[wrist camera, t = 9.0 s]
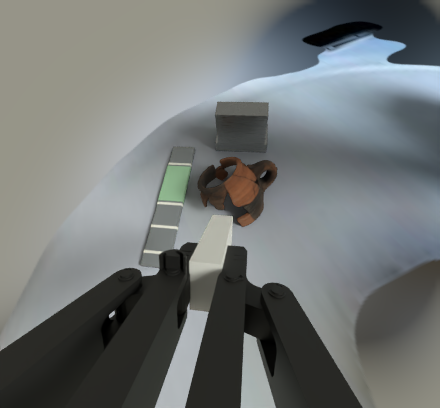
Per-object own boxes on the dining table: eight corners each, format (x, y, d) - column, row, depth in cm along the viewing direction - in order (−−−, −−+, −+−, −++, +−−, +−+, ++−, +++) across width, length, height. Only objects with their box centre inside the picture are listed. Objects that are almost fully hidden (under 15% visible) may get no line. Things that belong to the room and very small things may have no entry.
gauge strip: (169, 268, 31) (167, 267, 31) (141, 266, 32) (139, 264, 31) (195, 149, 42) (194, 147, 41) (174, 148, 42) (173, 146, 42)
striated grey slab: (265, 152, 40) (271, 116, 33) (216, 150, 41) (211, 114, 34) (266, 132, 43) (271, 94, 36) (219, 130, 44) (215, 93, 37)
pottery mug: (229, 242, 33) (199, 207, 28) (212, 209, 41) (186, 176, 36) (297, 197, 33) (279, 153, 28) (267, 171, 40) (249, 133, 35)
